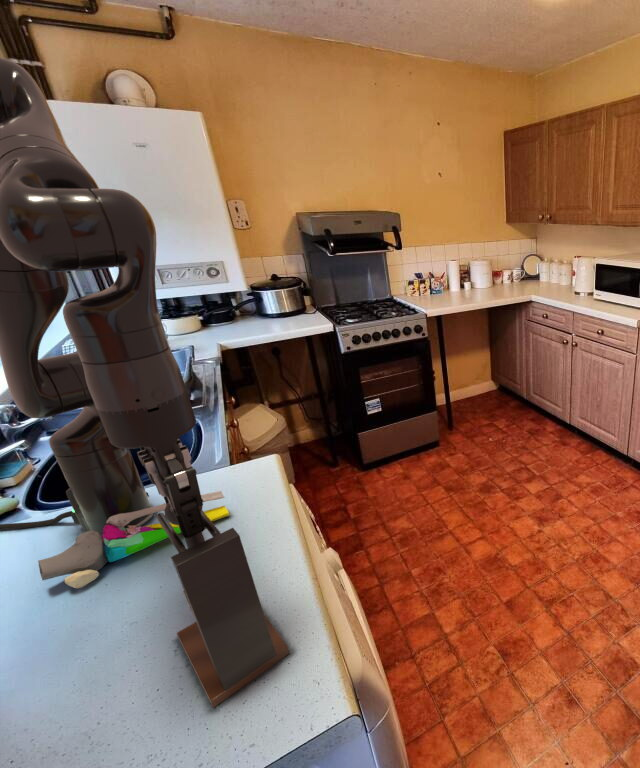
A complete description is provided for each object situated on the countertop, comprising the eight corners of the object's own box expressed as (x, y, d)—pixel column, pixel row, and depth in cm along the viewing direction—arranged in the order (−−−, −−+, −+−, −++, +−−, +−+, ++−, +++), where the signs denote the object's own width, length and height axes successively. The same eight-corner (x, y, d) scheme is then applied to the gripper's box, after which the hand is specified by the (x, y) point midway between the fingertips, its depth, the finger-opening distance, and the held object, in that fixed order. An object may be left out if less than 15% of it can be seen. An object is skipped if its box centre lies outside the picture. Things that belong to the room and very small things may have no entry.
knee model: (232, 540, 85) (48, 609, 67) (218, 510, 89) (40, 567, 70) (235, 510, 81) (38, 576, 62) (220, 480, 84) (29, 532, 66)
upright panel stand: (178, 637, 60) (127, 516, 53) (248, 596, 67) (211, 482, 59) (213, 708, 51) (158, 574, 44) (290, 653, 58) (253, 528, 50)
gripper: (84, 389, 48) (136, 517, 54) (108, 425, 39) (168, 573, 45) (166, 370, 53) (206, 489, 59) (204, 399, 44) (245, 535, 51)
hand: (189, 525), depth 52 cm, fingers closed on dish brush, 3 cm apart
